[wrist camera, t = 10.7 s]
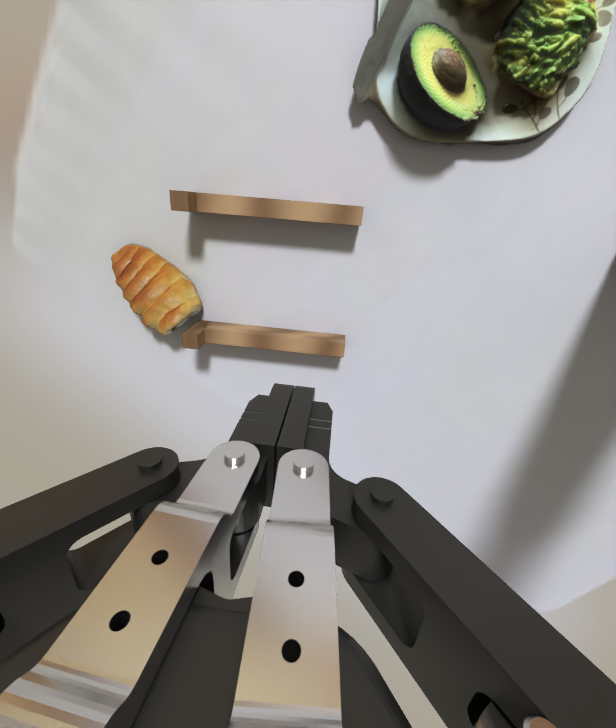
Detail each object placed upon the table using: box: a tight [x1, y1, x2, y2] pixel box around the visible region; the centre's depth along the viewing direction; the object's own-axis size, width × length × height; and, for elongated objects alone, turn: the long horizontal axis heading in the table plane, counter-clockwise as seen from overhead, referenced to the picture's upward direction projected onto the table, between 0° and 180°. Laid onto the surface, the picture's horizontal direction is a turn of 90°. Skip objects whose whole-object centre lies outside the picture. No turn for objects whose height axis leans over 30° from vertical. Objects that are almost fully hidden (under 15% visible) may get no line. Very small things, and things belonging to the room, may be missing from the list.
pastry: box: [111, 244, 202, 335], centre depth 34 cm, size 9×7×4 cm
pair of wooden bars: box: [169, 190, 363, 357], centre depth 32 cm, size 16×14×4 cm
